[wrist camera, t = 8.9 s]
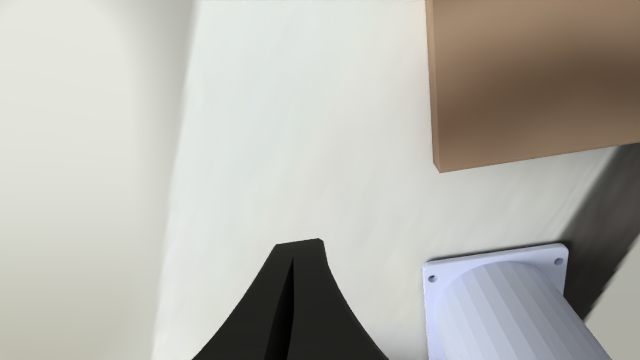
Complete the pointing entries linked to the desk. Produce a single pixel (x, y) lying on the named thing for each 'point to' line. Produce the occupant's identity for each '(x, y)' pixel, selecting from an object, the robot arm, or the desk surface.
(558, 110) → the brown flat board
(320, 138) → the desk surface
